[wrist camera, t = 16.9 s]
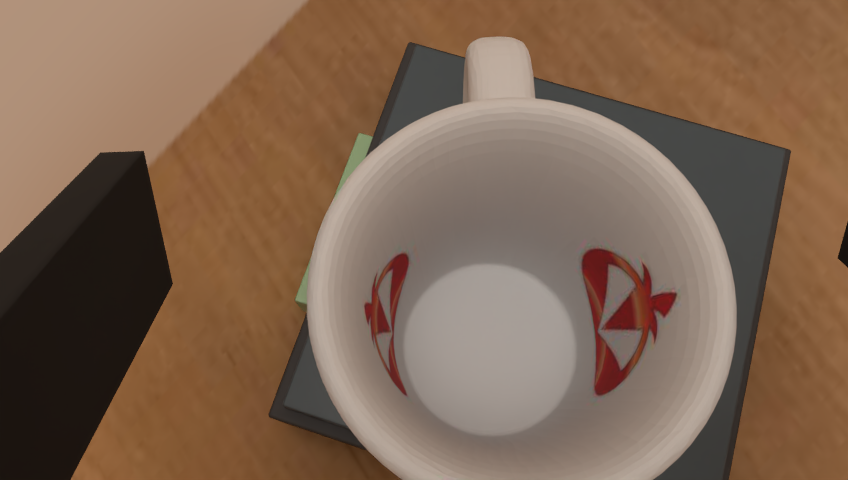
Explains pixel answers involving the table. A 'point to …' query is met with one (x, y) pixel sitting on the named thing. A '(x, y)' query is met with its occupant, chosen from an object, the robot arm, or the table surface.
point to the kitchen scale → (679, 142)
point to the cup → (520, 292)
